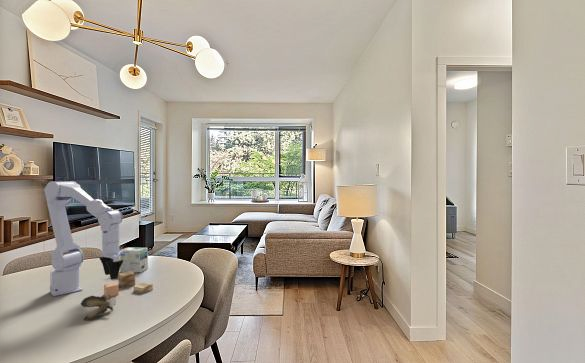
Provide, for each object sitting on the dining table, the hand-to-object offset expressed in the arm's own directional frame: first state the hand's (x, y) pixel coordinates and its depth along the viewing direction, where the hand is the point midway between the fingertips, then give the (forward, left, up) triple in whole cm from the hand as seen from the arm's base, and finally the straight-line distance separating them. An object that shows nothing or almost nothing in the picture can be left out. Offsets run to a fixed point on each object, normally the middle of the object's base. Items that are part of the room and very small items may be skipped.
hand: (111, 276), depth 120 cm
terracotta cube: (0, 0, -7) cm, 7 cm away
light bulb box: (+17, +27, -7) cm, 33 cm away
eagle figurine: (-8, -16, -7) cm, 20 cm away
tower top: (+8, +8, -5) cm, 12 cm away
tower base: (+8, +8, -7) cm, 13 cm away
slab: (+10, -4, -7) cm, 13 cm away
